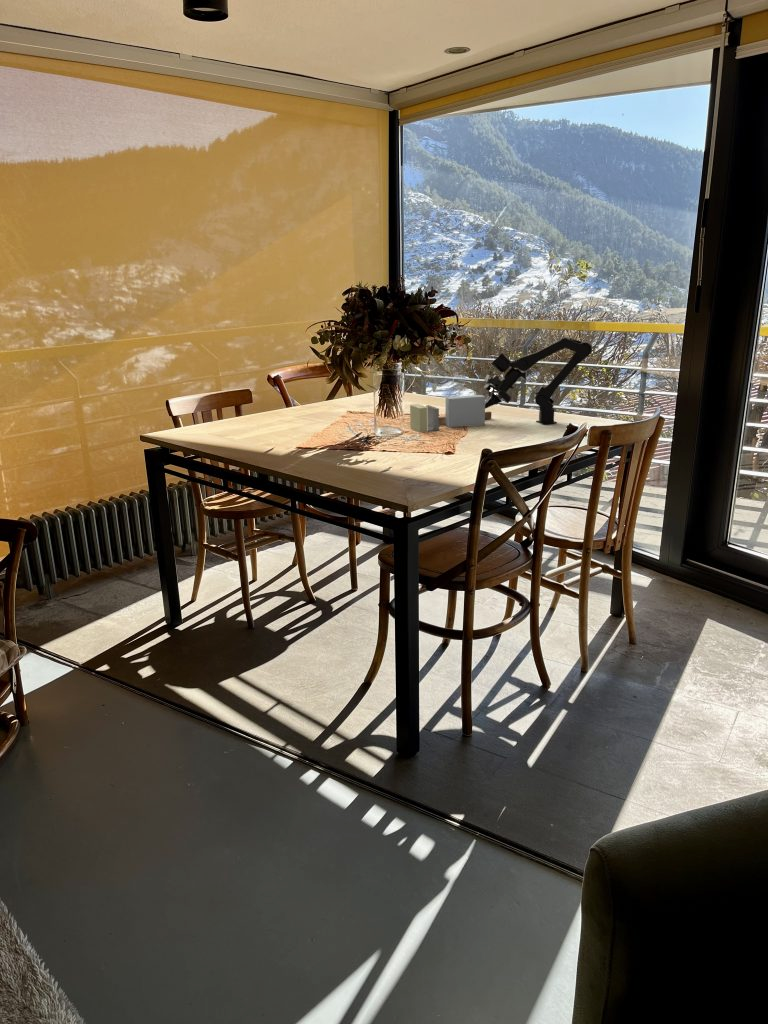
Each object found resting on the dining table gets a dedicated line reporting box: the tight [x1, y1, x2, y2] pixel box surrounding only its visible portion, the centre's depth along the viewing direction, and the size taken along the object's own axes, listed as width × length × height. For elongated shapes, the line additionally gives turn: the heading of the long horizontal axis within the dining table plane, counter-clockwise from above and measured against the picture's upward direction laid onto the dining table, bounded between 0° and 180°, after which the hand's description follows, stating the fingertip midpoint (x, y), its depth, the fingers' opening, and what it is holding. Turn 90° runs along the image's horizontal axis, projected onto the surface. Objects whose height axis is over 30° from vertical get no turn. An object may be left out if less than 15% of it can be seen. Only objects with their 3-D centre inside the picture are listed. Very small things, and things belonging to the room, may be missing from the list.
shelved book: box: [409, 403, 429, 433], centre depth 321 cm, size 9×4×10 cm, turn 23°
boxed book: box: [445, 394, 486, 428], centre depth 328 cm, size 16×5×12 cm, turn 103°
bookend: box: [425, 404, 440, 432], centre depth 322 cm, size 9×6×9 cm
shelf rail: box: [439, 410, 492, 426], centre depth 335 cm, size 2×30×3 cm, turn 114°
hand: (483, 408), depth 329 cm, fingers closed, pressing on boxed book
